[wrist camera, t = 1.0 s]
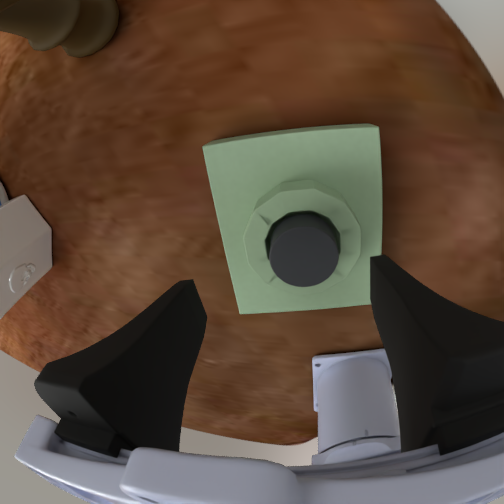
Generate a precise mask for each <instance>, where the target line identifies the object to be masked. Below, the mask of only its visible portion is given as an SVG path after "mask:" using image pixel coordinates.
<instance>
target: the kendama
mask: <svg viewBox="0 0 504 504" xmlns="http://www.w3.org/2000/svg"><path fill="white" fill-rule="evenodd" d="M118 19H119V10H118V6H117V2H116V1H115V0H0V31H3V32H8V33H12V34H16V35H19V36H22V37H25V38H27V39H28V41H29V44H30V45H31V46H32V48H33V49H34V50H38V51H46V50H49V49H52V48H54V47H56V46H58V45H61V46H62V48H63V49H64V50H65V52H66V53H67V54H68V55H69V56H73V57H78V58H80V57H84V56H88V55H92V54H93V53H95V52H97V51H98V50H100V49H101V48H103V47H104V46H105V45H106V44H107V43H108V42H109V40H110V39H111V38H112V37H113V35H114V32H115V30H116V28H117V26H118Z"/></svg>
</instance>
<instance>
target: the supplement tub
mask: <svg viewBox="0 0 504 504" xmlns="http://www.w3.org/2000/svg"><path fill="white" fill-rule="evenodd" d="M7 201H9V199H8V196H7V194H6V191H5V189H4V187H3V185H2V183H1V181H0V205H2V204H4V203H6V202H7Z"/></svg>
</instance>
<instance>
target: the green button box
mask: <svg viewBox="0 0 504 504" xmlns="http://www.w3.org/2000/svg"><path fill="white" fill-rule="evenodd" d="M202 148H203V153H204V158H205V163H206V167H207V172H208V177H209V181H210V186H211V191H212V195H213V200H214V204H215V209H216V214H217V218H218V223H219V227H220V231H221V236H222V240H223V245H224V249H225V253H226V258H227V262H228V266H229V270H230V275H231V279H232V283H233V287H234V292H235V296H236V300H237V304H238V308H239V312H240V314H252V313H270V312H286V311H301V310H314V309H326V308H337V307H348V306H358V305H367V304H371V300H370V257H371V256H378V255H381V251H382V166H381V147H380V133H379V127H377V126H375V125H372V124H347V125H331V126H318V127H307V128H297V129H288V130H279V131H271V132H264V133H257V134H250V135H243V136H237V137H231V138H225V139H219V140H214V141H211V142H209V143H207V144H206V145H204V146H203V147H202ZM297 214H310V215H314V216H317V217H319V218H321V219H322V220H324V221H325V222H326V223H327V224H328V225H329V226H330V227H331V229H332V231H333V233H334V237H335V240H336V244H337V248H338V252H339V259H338V264H337V267H336V269H335V271H334V272H333V273H332V275H331V276H330V277H329V278H328V279H326V280H325V281H324V282H322V283H320V284H317V285H315V286H310V287H297V286H292V285H289V284H287V283H285V282H284V281H282V280H281V279H279V278H278V277H277V276H276V274H275V273H274V272H273V270H272V268H271V265H270V261H269V252H270V245H271V239H272V235H273V232H274V230H275V228H276V227H277V226H278V225H279V224H280V223H281V222H282V221H283V220H284V219H286V218H288V217H290V216H293V215H297Z"/></svg>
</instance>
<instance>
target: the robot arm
mask: <svg viewBox="0 0 504 504" xmlns="http://www.w3.org/2000/svg"><path fill="white" fill-rule="evenodd" d="M370 300H371V305H372V310H373V314H374V319H375V322H376V325H377V328H378V331H379V334H380V337H381V340H382V342H383V345H384V349H376V350H368V351H359V352H350V353H340V354H329V355H317V356H314V357H313V359H312V365H313V391H314V410H315V411H317V412H318V454H317V455H313V456H312V465H310V466H290V467H289V466H288V467H285V466H284V465H282V464H279V463H275V462H271V461H268V460H261V459H252V458H243V457H225V456H211V455H201V454H192V453H184V452H179V443H180V433H181V424H182V417H183V410H184V404H185V399H186V394H187V388H188V384H189V381H190V377H191V374H192V371H193V368H194V365H195V362H196V359H197V356H198V353H199V350H200V347H201V344H202V341H203V338H204V333H205V328H206V321H207V315H206V312H205V310H204V307H203V305H202V302H201V299H200V297H199V294H198V292H197V289H196V286H195V284H194V281H193V279H192V280H183V281H179V282H178V283H176V284H175V285H174V286H172V287H171V288H170V289H169V290H167V291H166V292H165V293H164V294H163V295H162V296H160V297H159V298H158V299H157V300H156V301H155V302H153V303H152V304H151V305H150V306H149V307H148V308H146V309H145V310H144V311H143V312H141V313H140V314H139V315H138V316H136V317H135V318H134V319H133V320H131V321H130V322H129V323H127V324H126V325H125V326H123V327H122V328H120V329H119V330H117V331H116V332H114V333H113V334H111V335H110V336H108V337H106V338H104V339H102V340H101V341H99V342H97V343H95V344H94V345H92V346H90V347H88V348H86V349H84V350H81V351H79V352H77V353H74V354H72V355H70V356H67V357H64V358H61V359H58V360H55V361H53V362H49V363H47V364H46V366H45V367H44V368H43V370H42V371H41V373H40V375H39V376H38V377H37V379H36V380H35V383H34V386H35V389H36V391H37V393H38V394H39V396H40V397H41V398H42V399H43V400H44V402H46V404H47V405H48V406H49V407H50V408H51V409H52V410H53V411H54V412H55V413H56V414H57V415H58V416H59V417H60V418H61V420H60V422H59V424H58V423H56V422H55V421H53V420H51V419H48V418H46V417H43V416H40V415H36V417H35V418H34V420H33V422H32V424H31V426H30V427H29V429H28V431H27V433H26V435H25V437H24V438H23V440H22V442H21V444H20V446H19V448H18V450H17V452H16V454H15V458H16V459H17V460H19V461H20V462H22V463H23V464H24V465H25V466H27V467H28V468H30V469H31V470H32V471H34V472H35V473H36V474H38V475H39V476H41V477H42V478H44V479H45V480H47V481H48V482H50V483H51V484H53V485H55V486H57V487H58V488H61V489H62V490H64V491H66V492H68V493H70V494H72V495H74V496H77V497H78V498H80V499H83V500H85V501H87V502H89V503H91V504H487V503H489V502H491V501H493V500H495V499H497V498H499V497H501V496H503V495H504V322H502V321H498V320H495V319H492V318H489V317H486V316H483V315H480V314H477V313H475V312H472V311H470V310H468V309H466V308H463V307H461V306H459V305H457V304H455V303H453V302H451V301H449V300H447V299H446V298H444V297H442V296H440V295H439V294H437V293H435V292H434V291H432V290H431V289H429V288H428V287H426V286H425V285H423V284H422V283H420V282H419V281H418V280H416V279H415V278H414V277H412V276H411V275H410V274H408V273H407V272H406V271H405V270H403V269H402V268H401V267H400V266H398V265H397V264H396V263H395V262H393V261H392V260H391V259H390V258H388V257H387V256H386V255H378V256H371V257H370ZM318 363H319V364H318ZM391 377H393V383H394V389H395V395H396V402H397V408H396V403H395V398H394V394H393V389H392V385H391ZM397 409H398V413H397Z"/></svg>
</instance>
